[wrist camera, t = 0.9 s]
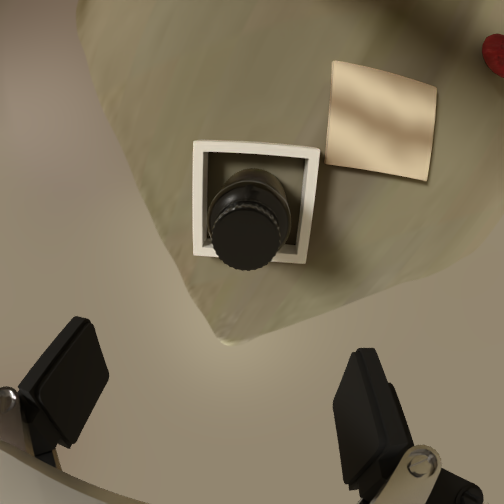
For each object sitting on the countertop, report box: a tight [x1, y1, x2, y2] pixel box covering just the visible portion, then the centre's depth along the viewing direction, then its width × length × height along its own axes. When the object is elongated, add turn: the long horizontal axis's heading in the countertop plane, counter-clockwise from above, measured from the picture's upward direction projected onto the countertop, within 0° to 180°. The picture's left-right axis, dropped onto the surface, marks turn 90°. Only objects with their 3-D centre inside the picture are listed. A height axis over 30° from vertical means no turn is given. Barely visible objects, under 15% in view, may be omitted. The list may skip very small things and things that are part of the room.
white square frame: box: [193, 140, 320, 264], centre depth 30 cm, size 12×12×2 cm
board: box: [324, 60, 437, 181], centre depth 26 cm, size 11×12×1 cm
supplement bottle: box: [207, 168, 291, 271], centre depth 25 cm, size 7×7×12 cm
